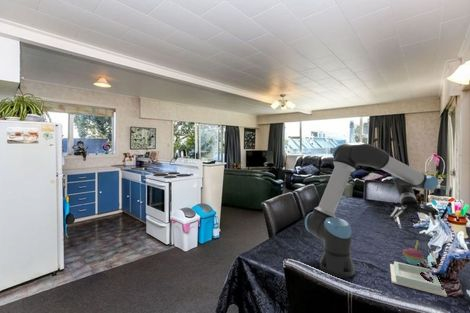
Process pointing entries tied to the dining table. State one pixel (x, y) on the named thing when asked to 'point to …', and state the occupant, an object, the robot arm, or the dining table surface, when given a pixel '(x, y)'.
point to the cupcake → (413, 255)
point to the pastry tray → (414, 278)
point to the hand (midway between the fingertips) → (416, 224)
